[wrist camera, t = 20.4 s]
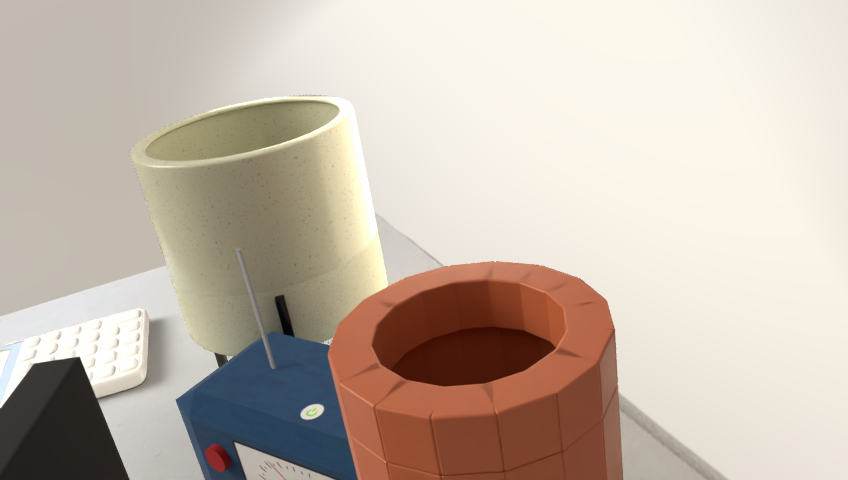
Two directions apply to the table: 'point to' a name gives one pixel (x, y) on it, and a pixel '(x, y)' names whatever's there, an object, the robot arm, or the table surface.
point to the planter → (263, 218)
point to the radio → (269, 412)
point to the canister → (480, 377)
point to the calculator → (85, 352)
